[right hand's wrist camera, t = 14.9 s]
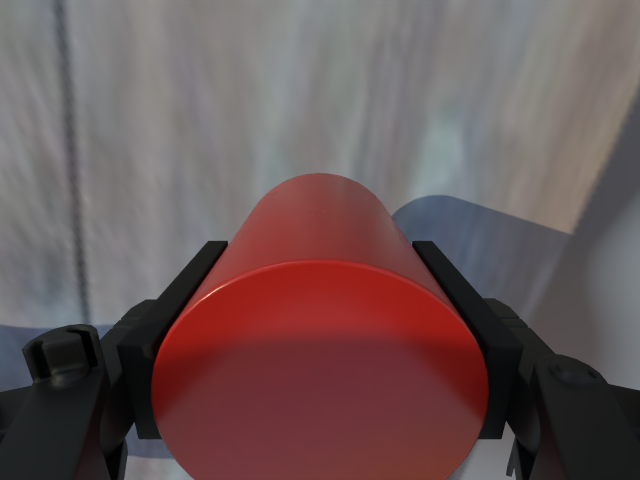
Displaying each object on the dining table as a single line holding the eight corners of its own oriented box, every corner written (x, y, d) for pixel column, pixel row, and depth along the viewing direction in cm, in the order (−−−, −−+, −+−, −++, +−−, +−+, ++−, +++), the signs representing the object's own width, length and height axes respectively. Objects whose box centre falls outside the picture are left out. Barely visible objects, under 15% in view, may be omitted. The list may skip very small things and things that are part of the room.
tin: (252, 316, 18) (181, 528, 9) (235, 175, 15) (111, 267, 6) (392, 312, 18) (470, 521, 9) (398, 170, 15) (516, 252, 6)
